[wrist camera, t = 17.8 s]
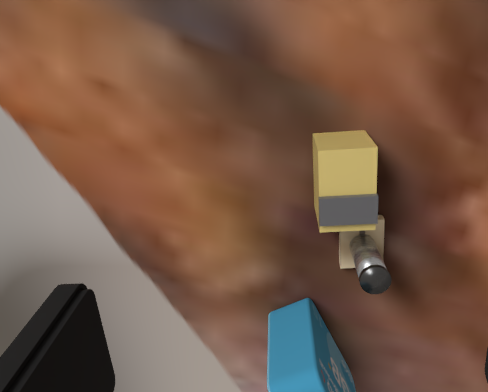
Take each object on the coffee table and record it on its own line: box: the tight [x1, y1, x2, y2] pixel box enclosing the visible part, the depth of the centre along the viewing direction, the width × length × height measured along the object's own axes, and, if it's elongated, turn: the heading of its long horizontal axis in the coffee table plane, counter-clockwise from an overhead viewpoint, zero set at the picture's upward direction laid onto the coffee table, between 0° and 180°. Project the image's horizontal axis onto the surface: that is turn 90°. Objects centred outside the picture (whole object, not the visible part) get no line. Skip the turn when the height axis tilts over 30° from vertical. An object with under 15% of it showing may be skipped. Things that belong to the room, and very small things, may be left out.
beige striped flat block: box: [339, 215, 385, 268], centre depth 43 cm, size 5×4×1 cm
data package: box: [267, 298, 356, 392], centre depth 42 cm, size 12×4×12 cm, turn 27°
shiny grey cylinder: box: [349, 234, 391, 294], centre depth 39 cm, size 2×2×6 cm
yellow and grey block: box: [313, 130, 378, 232], centre depth 38 cm, size 7×5×6 cm, turn 5°
